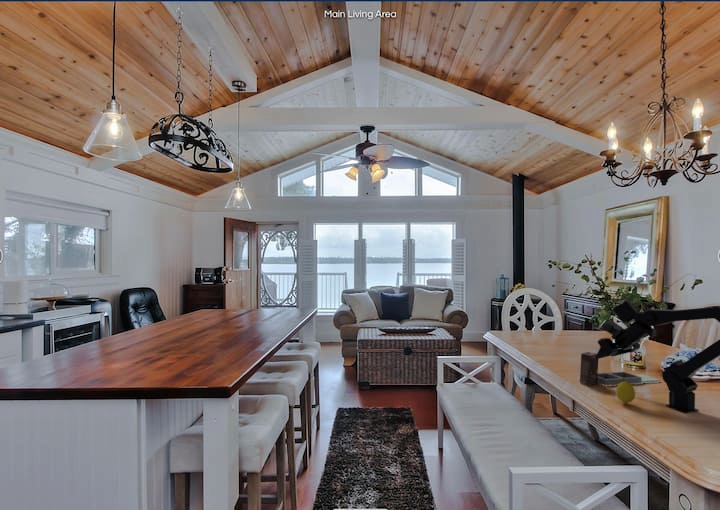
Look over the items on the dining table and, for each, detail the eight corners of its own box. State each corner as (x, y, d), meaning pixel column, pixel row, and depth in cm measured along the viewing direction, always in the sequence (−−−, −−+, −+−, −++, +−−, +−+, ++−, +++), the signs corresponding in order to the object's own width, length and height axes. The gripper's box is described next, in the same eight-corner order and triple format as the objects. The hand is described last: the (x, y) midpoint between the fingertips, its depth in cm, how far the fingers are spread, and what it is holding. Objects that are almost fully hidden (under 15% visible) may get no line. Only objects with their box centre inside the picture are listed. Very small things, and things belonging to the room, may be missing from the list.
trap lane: (661, 382, 174) (661, 376, 174) (606, 386, 168) (606, 380, 168) (640, 375, 184) (640, 370, 184) (587, 379, 178) (587, 373, 178)
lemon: (625, 407, 145) (626, 383, 145) (612, 401, 150) (612, 379, 150) (638, 406, 147) (639, 382, 147) (624, 400, 152) (625, 378, 152)
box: (590, 386, 169) (591, 355, 169) (579, 383, 172) (579, 353, 172) (598, 383, 172) (599, 353, 172) (587, 380, 176) (588, 351, 176)
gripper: (632, 314, 167) (604, 337, 176) (603, 317, 158) (575, 341, 168) (653, 338, 160) (623, 360, 169) (624, 342, 151) (594, 366, 161)
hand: (603, 356), depth 167 cm, fingers open, 9 cm apart
